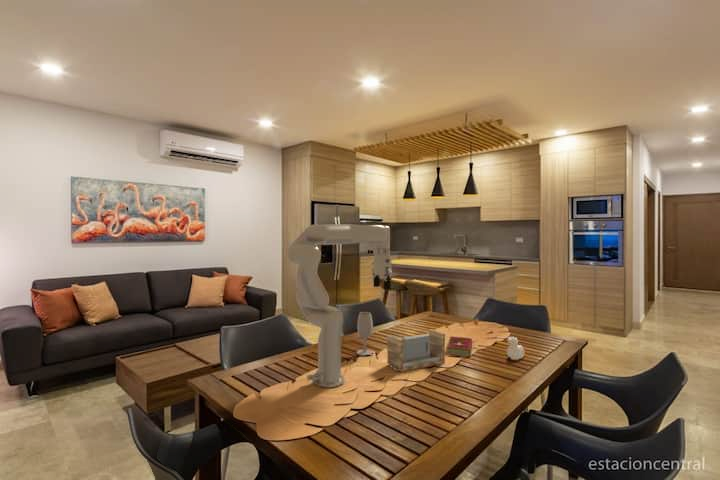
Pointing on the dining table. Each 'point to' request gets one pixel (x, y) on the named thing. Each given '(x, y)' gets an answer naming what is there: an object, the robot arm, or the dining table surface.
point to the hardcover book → (459, 346)
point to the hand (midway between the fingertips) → (381, 288)
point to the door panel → (416, 347)
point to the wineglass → (365, 330)
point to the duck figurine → (515, 349)
